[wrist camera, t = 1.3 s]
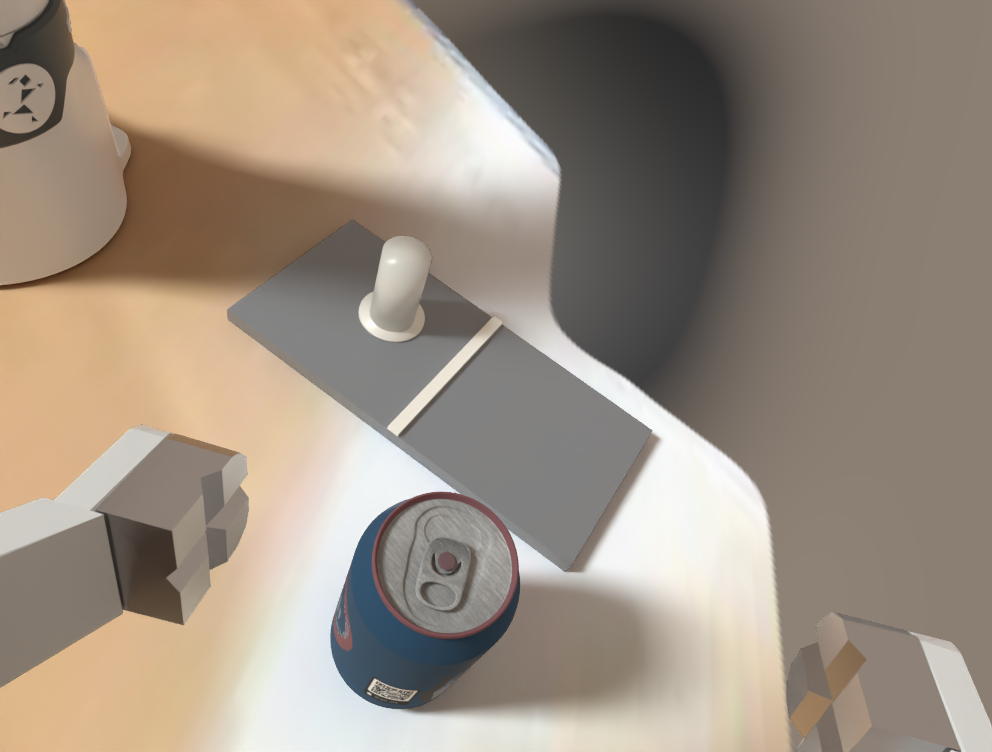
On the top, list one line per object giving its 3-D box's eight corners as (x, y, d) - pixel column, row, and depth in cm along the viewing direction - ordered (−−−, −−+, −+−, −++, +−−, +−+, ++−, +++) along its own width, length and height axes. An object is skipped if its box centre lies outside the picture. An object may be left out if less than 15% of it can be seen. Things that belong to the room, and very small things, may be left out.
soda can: (354, 558, 38) (388, 455, 29) (474, 596, 39) (547, 507, 29) (307, 691, 34) (328, 621, 24) (443, 731, 34) (515, 678, 25)
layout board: (227, 319, 44) (224, 241, 39) (351, 229, 51) (363, 152, 46) (564, 571, 41) (613, 525, 35) (645, 437, 48) (696, 382, 43)
